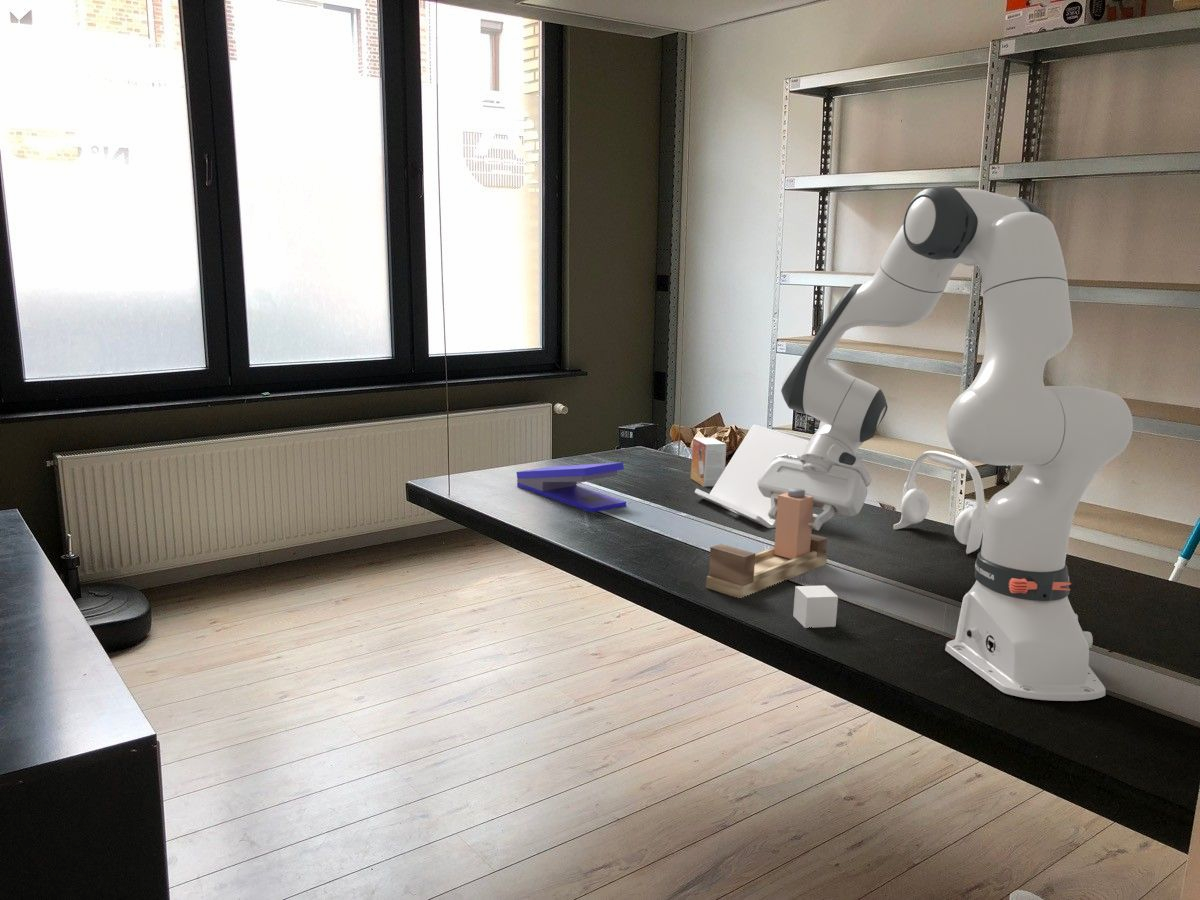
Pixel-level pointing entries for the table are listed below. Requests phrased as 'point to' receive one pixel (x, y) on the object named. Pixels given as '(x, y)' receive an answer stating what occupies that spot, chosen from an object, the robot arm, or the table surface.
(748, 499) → the tablet stand
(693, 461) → the small box
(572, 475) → the stapler
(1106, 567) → the table surface
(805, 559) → the track
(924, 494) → the headset
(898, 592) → the table surface
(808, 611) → the white cube
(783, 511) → the pink capped carton
